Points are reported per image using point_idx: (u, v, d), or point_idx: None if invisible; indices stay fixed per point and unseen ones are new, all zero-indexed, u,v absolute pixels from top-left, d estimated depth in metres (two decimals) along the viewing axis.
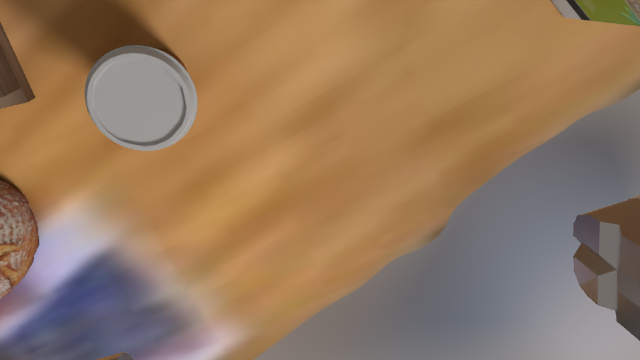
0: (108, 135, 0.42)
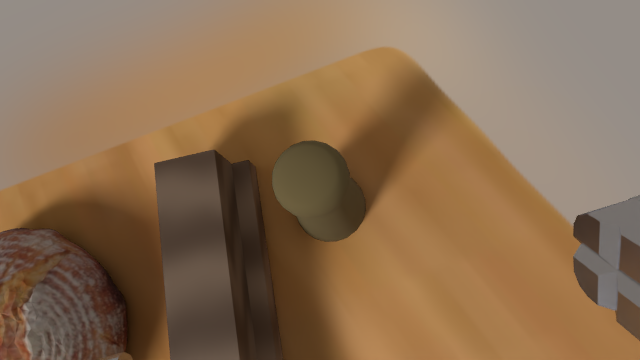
0: None
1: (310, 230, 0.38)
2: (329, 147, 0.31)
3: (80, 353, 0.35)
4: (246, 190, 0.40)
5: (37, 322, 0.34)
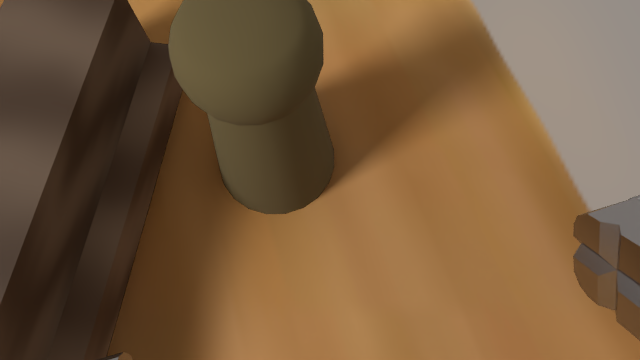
0: None
1: (228, 175, 0.22)
2: None
3: None
4: (155, 86, 0.24)
5: None
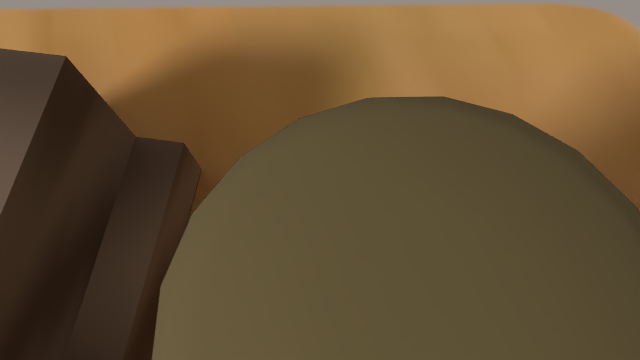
0: None
1: None
2: None
3: None
4: (142, 224, 0.13)
5: None
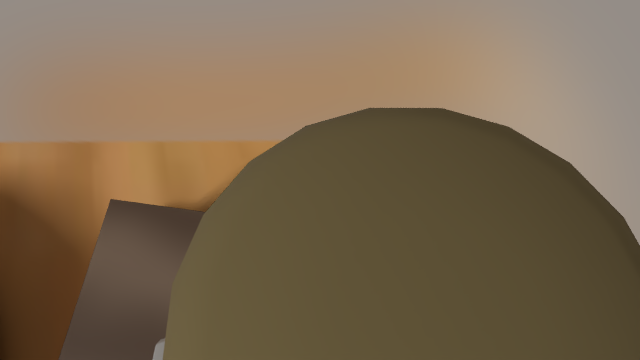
0: None
1: None
2: None
3: None
4: None
5: None
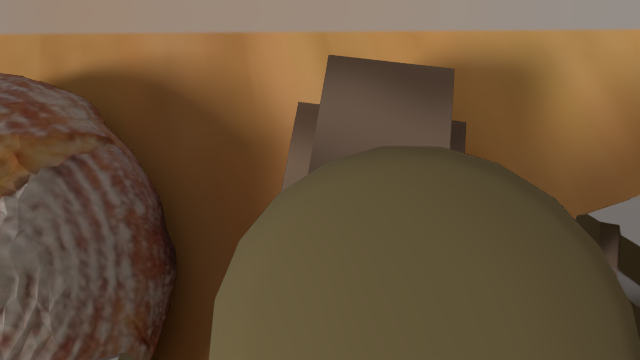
0: None
1: None
2: (581, 227, 0.06)
3: (79, 342, 0.16)
4: None
5: (16, 246, 0.15)
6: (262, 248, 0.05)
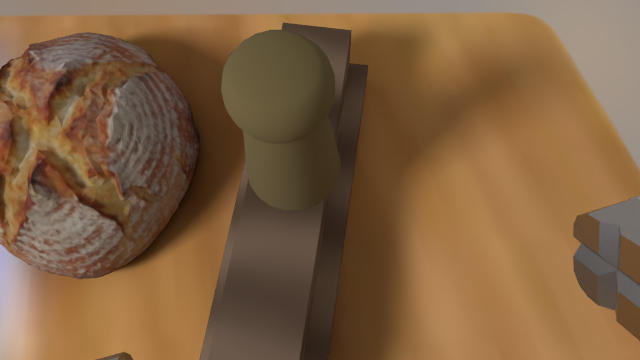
0: None
1: (255, 178, 0.27)
2: (321, 49, 0.21)
3: (154, 162, 0.31)
4: (357, 92, 0.37)
5: (125, 110, 0.30)
6: (235, 52, 0.21)
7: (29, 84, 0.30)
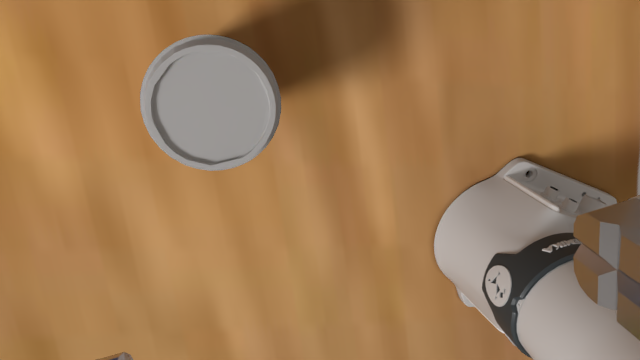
0: (186, 51, 0.30)
1: None
2: None
3: None
4: None
5: None
6: None
7: None
